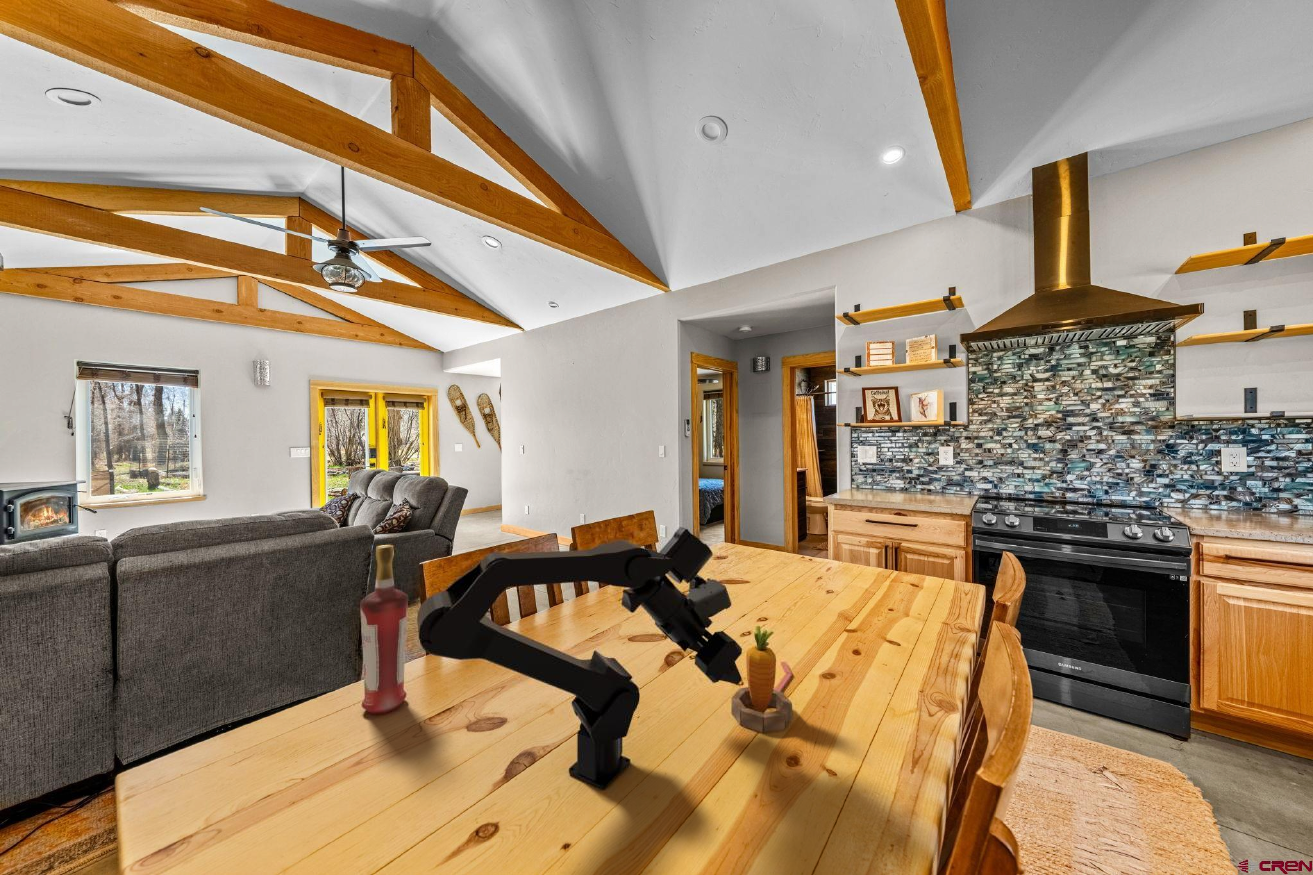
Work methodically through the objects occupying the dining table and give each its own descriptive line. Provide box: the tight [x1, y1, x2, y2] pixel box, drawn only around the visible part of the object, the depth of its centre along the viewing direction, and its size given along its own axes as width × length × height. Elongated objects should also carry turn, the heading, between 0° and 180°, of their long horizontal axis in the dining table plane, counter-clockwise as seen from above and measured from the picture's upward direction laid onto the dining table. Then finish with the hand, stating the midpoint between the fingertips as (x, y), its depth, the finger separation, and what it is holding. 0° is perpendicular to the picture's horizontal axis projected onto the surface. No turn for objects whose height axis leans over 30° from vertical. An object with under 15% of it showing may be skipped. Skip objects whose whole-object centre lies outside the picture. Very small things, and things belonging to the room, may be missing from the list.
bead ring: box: [730, 686, 793, 734], centre depth 83 cm, size 9×9×2 cm
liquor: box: [359, 544, 409, 715], centre depth 85 cm, size 7×7×28 cm
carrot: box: [745, 625, 777, 713], centre depth 83 cm, size 5×5×15 cm
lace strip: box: [774, 661, 793, 692], centre depth 94 cm, size 16×3×1 cm, turn 149°
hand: (723, 666), depth 79 cm, fingers open, 9 cm apart
